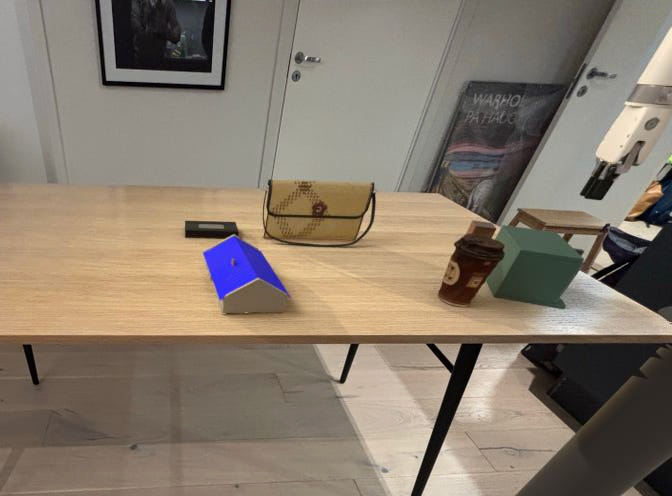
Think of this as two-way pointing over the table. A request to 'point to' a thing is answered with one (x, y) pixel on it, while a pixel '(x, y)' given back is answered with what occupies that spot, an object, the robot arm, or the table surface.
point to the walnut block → (481, 228)
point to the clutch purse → (317, 210)
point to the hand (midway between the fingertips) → (590, 197)
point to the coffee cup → (469, 268)
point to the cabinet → (534, 266)
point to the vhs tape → (210, 229)
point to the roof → (244, 278)
